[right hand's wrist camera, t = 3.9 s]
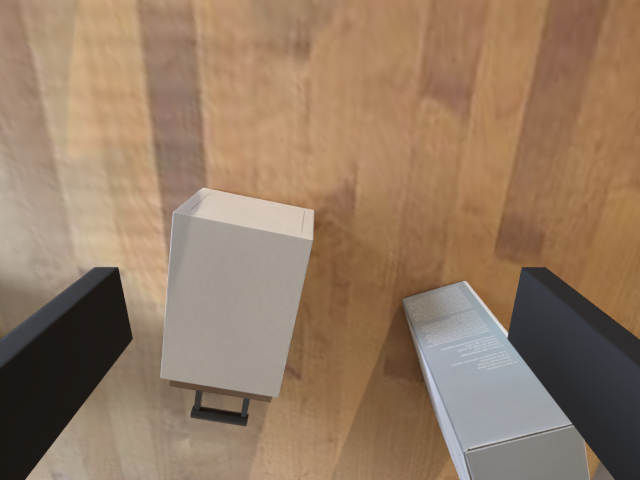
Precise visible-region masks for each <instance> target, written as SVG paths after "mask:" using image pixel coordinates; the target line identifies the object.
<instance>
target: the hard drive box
mask: <svg viewBox="0 0 640 480" xmlns="http://www.w3.org/2000/svg"><path fill="white" fill-rule="evenodd" d="M402 304H403V307H404V311H405V314H406V317H407V321H408V324H409V328H410V331H411V335H412V338H413V342H414V345H415V349H416V352H417V356H418V359H419V363H420V366H421V370H422V373H423V377H424V380H425V384H426V387H427V391H428V394H429V398H430V401H431V405H432V408H433V410H434V413H435V416H436V418H437V421H438V424H439V426H440V429H441V431H442V434H443V437H444V439H445V442H446V445H447V447H448V450H449V452H450V455H451V458H452V460H453V463H454V465H455V468H456V471H457V473H458V476H459V479H460V480H590V475H589V468H588V462H587V455H586V448H585V440H584V439H583V437H582V436H581V435H580V433H579V432H578V431H577V429H576V428H575V427H574V426H573V424H572V423H571V422H570V420H569V419H568V418H567V416H566V415H565V414H564V412H563V411H562V410H561V409H560V407H559V406H558V405H557V403H556V402H555V401H554V399H553V398H552V397H551V396H550V394H549V393H548V392H547V390H546V389H545V388H544V386H543V385H542V384H541V382H540V381H539V380H538V379H537V377H536V376H535V375H534V373H533V372H532V371H531V369H530V368H529V367H528V365H527V364H526V363H525V362H524V360H523V359H522V358H521V356H520V355H519V354H518V352H517V351H516V350H515V348H514V347H513V346H512V345H511V343H510V342H509V341H508V339H507V337H508V332H507V331H506V330H505V328H504V327H503V326H502V325H501V324H500V322H499V321H498V320H497V319H496V317H495V316H494V315H493V314H492V312H491V311H490V310H489V308H488V307H487V306H486V305H485V304H484V302H483V301H482V300H481V299H480V297H479V296H478V295H477V294H476V292H475V291H474V290H473V289H472V287H471V286H470V285H469V284H468V283H467V281H462V282H458V283H455V284H451V285H448V286H444V287H441V288H437V289H434V290H430V291H427V292H423V293H420V294H417V295H413V296H410V297H407V298H404V299H402Z"/></svg>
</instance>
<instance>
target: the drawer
mask: <svg viewBox="0 0 640 480" xmlns="http://www.w3.org/2000/svg"><path fill="white" fill-rule="evenodd" d="M169 386H174V387H180V388H186V389H192V390H196V397H195V405H194V406H193V408H192V411H191V418H196V419H202V420H209V421H215V422H221V423H228V424H234V425H240V426H247V421H248V416H249V414H247V411H248V406H249V400H250V399H254V400H260V401H266V402H271V399H272V397H271V396H265V395H259V394H253V393H247V392H241V391H235V390H229V389H223V388H217V387H210V386H204V385H198V384H192V383H186V382H180V381H174V380H170V384H169ZM203 391H205V392H211V393H217V394H223V395H229V396H235V397H241V398H244V401H243V407H242V412H241V413H240V412H233V411H227V410H221V409H215V408H208V407H202V406H201V401H202V393H203Z"/></svg>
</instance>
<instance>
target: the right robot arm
mask: <svg viewBox="0 0 640 480" xmlns="http://www.w3.org/2000/svg"><path fill="white" fill-rule="evenodd" d="M132 339H133V337H132V332H131V328H130V323H129V318H128V313H127V308H126V303H125V298H124V293H123V289H122V284H121V279H120V274H119V269H118V267H94V268H93V269H92V270H91V271H89V272H88V273H87V274H85V275H84V276H83V277H81V278H80V279H79V280H77V281H76V282H75V283H74V284H72V285H71V286H70V287H68V288H67V289H66V290H64V291H63V292H62V293H61V294H59V295H58V296H57V297H55V298H54V299H53V300H51V301H50V302H49V303H48V304H46V305H45V306H44V307H42V308H41V309H40V310H38V311H37V312H36V313H34V314H33V315H32V316H31V317H29V318H28V319H27V320H25V321H24V322H23V323H21V324H20V325H19V326H18V327H16V328H15V329H14V330H12V331H11V332H10V333H8V334H7V335H6V336H5V337H3V338H2V339H1V340H0V480H25V479H26V478H27V476H28V475H29V474H30V473H31V471H32V470H33V469H34V467H35V466H36V465H37V463H38V462H39V461H40V460H41V458H42V457H43V456H44V454H45V453H46V452H47V450H48V449H49V448H50V446H51V445H52V444H53V443H54V441H55V440H56V439H57V437H58V436H59V435H60V433H61V432H62V431H63V429H64V428H65V427H66V426H67V424H68V423H69V422H70V420H71V419H72V418H73V416H74V415H75V414H76V412H77V411H78V410H79V409H80V407H81V406H82V405H83V403H84V402H85V401H86V399H87V398H88V397H89V395H90V394H91V393H92V392H93V390H94V389H95V388H96V386H97V385H98V384H99V382H100V381H101V380H102V379H103V377H104V376H105V375H106V373H107V372H108V371H109V369H110V368H111V367H112V365H113V364H114V363H115V362H116V360H117V359H118V358H119V356H120V355H121V354H122V352H123V351H124V350H125V348H126V347H127V346H128V345H129V343H130V342H131V341H132ZM507 339H508V341H509V342H510V343H511V345H512V346H513V347H514V348H515V350H516V351H517V352H518V354H519V355H520V356H521V358H522V359H523V360H524V362H525V363H526V364H527V365H528V367H529V368H530V369H531V371H532V372H533V373H534V375H535V376H536V377H537V379H538V380H539V381H540V382H541V384H542V385H543V386H544V388H545V389H546V390H547V392H548V393H549V394H550V396H551V397H552V398H553V399H554V401H555V402H556V403H557V405H558V406H559V407H560V409H561V410H562V411H563V412H564V414H565V415H566V416H567V418H568V419H569V420H570V422H571V423H572V424H573V426H574V427H575V428H576V429H577V431H578V432H579V433H580V435H581V436H582V437H583V439H584V440H585V441H586V443H587V444H588V445H589V446H590V448H591V449H592V450H593V452H594V453H595V454H596V456H597V457H598V458H599V460H600V461H601V462H602V463H603V465H604V466H605V467H606V469H607V470H608V471H609V473H610V474H611V475H612V477H613V478H614V479H615V480H640V340H639V339H638V338H637V337H635V336H634V335H633V334H632V333H630V332H629V331H628V330H626V329H625V328H624V327H622V326H621V325H620V324H619V323H617V322H616V321H615V320H613V319H612V318H611V317H609V316H608V315H607V314H606V313H604V312H603V311H602V310H600V309H599V308H598V307H596V306H595V305H594V304H592V303H591V302H590V301H589V300H587V299H586V298H585V297H583V296H582V295H581V294H579V293H578V292H577V291H576V290H574V289H573V288H572V287H570V286H569V285H568V284H566V283H565V282H564V281H563V280H561V279H560V278H559V277H557V276H556V275H555V274H553V273H552V272H551V271H549V270H548V269H547V268H546V267H522V269H521V274H520V279H519V284H518V289H517V293H516V298H515V303H514V308H513V313H512V318H511V323H510V328H509V332H508V337H507Z"/></svg>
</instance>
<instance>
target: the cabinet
mask: <svg viewBox="0 0 640 480" xmlns="http://www.w3.org/2000/svg"><path fill="white" fill-rule="evenodd" d="M313 232H314V210H311V209H306V208H301V207H296V206H291V205H286V204H281V203H276V202H271V201H266V200H262V199H257V198H252V197H247V196H242V195H237V194H232V193H227V192H222V191H217V190H212V189H207V188H202V189H201V190H200V191H198V192H197V193H196V194H195V195H194V196H192V197H191V198H190V199H189V200H188V201H186V202H185V203H184V204H183V205H181V206H180V207H179V208H178V209H177V210H175V211H174V212H173V221H172V234H171V247H170V260H169V272H168V285H167V298H166V311H165V324H164V337H163V350H162V363H161V376H160V378H162V379H168V380H174V381H180V382H186V383H192V384H198V385H204V386H210V387H217V388H223V389H229V390H235V391H241V392H247V393H253V394H259V395H265V396H271V397H277V398H278V397H279V393H280V389H281V384H282V379H283V375H284V370H285V366H286V361H287V357H288V352H289V348H290V343H291V339H292V334H293V330H294V325H295V321H296V316H297V312H298V307H299V302H300V298H301V293H302V289H303V284H304V280H305V275H306V271H307V266H308V262H309V257H310V253H311V248H312V244H313Z"/></svg>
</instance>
